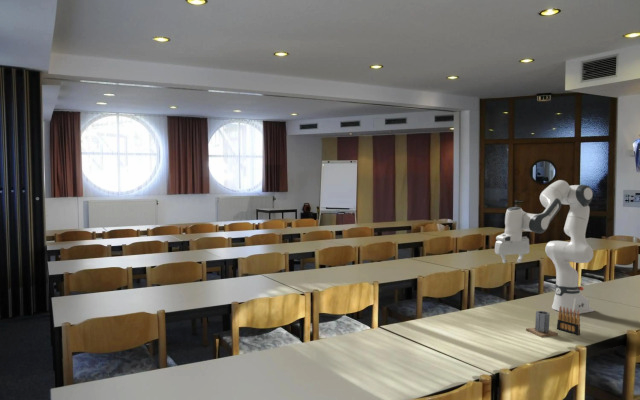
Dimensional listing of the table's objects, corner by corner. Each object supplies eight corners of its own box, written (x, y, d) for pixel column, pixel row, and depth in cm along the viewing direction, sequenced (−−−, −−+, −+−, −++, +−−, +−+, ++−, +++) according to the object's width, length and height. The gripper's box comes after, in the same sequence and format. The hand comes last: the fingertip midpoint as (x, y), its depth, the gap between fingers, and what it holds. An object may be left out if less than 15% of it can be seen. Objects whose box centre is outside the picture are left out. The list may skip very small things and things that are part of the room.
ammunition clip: (556, 329, 248) (557, 305, 248) (558, 328, 249) (559, 305, 249) (578, 335, 240) (579, 311, 239) (580, 334, 241) (581, 310, 240)
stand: (542, 328, 248) (543, 311, 248) (557, 335, 239) (558, 317, 238) (526, 330, 245) (527, 312, 245) (540, 337, 236) (541, 318, 235)
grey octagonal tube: (542, 328, 246) (543, 310, 245) (551, 332, 240) (552, 314, 240) (532, 329, 244) (533, 311, 244) (541, 333, 238) (542, 314, 238)
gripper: (524, 235, 274) (523, 260, 275) (493, 236, 268) (492, 262, 269) (532, 237, 268) (531, 262, 269) (501, 238, 262) (499, 264, 263)
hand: (511, 262), depth 269 cm, fingers open, 8 cm apart
